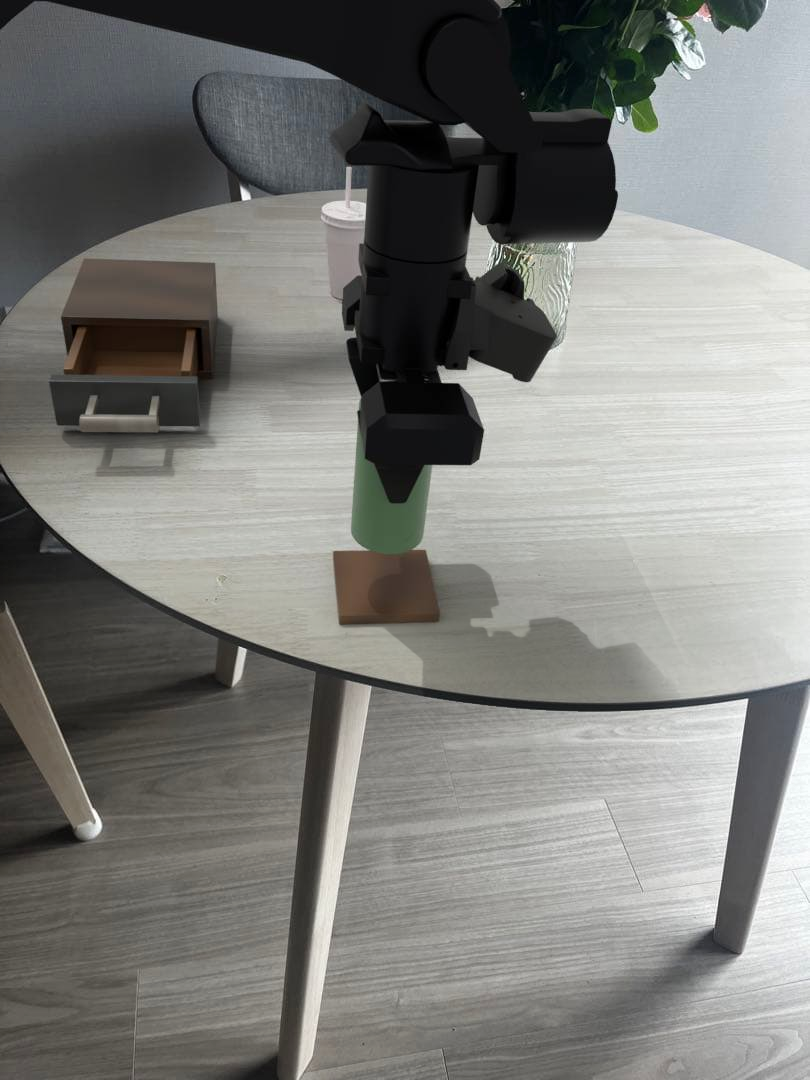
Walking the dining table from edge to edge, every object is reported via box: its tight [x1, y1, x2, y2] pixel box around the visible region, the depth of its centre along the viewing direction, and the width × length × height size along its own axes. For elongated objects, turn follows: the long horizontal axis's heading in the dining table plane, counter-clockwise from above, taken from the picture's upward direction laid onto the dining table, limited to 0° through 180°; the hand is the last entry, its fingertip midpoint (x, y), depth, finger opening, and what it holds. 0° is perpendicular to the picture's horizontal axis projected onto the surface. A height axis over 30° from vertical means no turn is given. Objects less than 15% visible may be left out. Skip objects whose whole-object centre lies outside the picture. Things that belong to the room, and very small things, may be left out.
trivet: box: [332, 549, 441, 625], centre depth 65 cm, size 7×7×1 cm
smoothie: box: [320, 166, 366, 301], centre depth 100 cm, size 6×6×14 cm
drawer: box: [48, 325, 201, 433], centre depth 79 cm, size 17×12×4 cm
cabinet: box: [60, 257, 219, 380], centre depth 89 cm, size 14×13×6 cm
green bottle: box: [350, 393, 434, 554], centre depth 58 cm, size 5×5×11 cm
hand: (392, 478), depth 59 cm, fingers closed on green bottle, 5 cm apart
